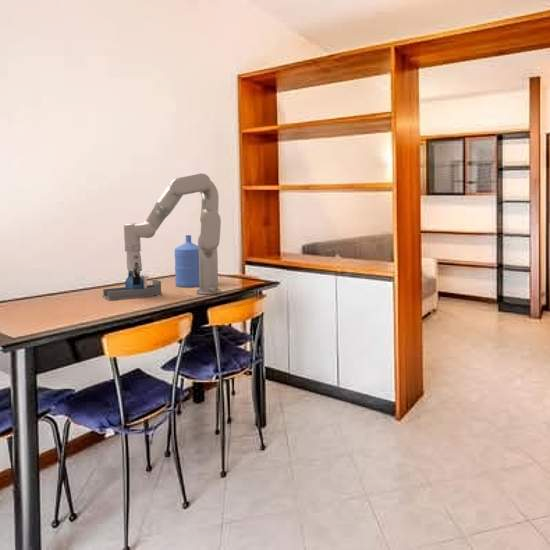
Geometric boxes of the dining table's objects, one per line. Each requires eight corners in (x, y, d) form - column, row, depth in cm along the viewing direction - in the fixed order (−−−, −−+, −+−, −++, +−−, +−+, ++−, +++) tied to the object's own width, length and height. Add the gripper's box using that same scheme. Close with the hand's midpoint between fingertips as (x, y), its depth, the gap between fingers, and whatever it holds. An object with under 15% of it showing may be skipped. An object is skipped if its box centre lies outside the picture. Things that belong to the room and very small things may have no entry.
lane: (161, 295, 260) (161, 281, 259) (109, 300, 247) (108, 286, 246) (154, 291, 270) (153, 278, 269) (102, 296, 257) (102, 282, 256)
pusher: (149, 293, 259) (148, 276, 258) (144, 293, 258) (144, 276, 257) (144, 291, 265) (144, 274, 264) (140, 291, 264) (139, 275, 263)
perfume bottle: (133, 295, 255) (132, 270, 253) (125, 293, 258) (124, 269, 257) (143, 293, 259) (142, 269, 258) (136, 292, 263) (135, 268, 262)
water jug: (201, 287, 283) (200, 236, 280) (172, 287, 284) (171, 236, 280) (205, 283, 299) (204, 234, 295) (178, 283, 299) (177, 234, 295)
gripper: (145, 249, 250) (147, 285, 253) (135, 246, 265) (136, 280, 268) (130, 250, 247) (132, 286, 249) (120, 247, 261) (122, 282, 264)
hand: (134, 283), depth 258 cm, fingers closed on perfume bottle, 7 cm apart
